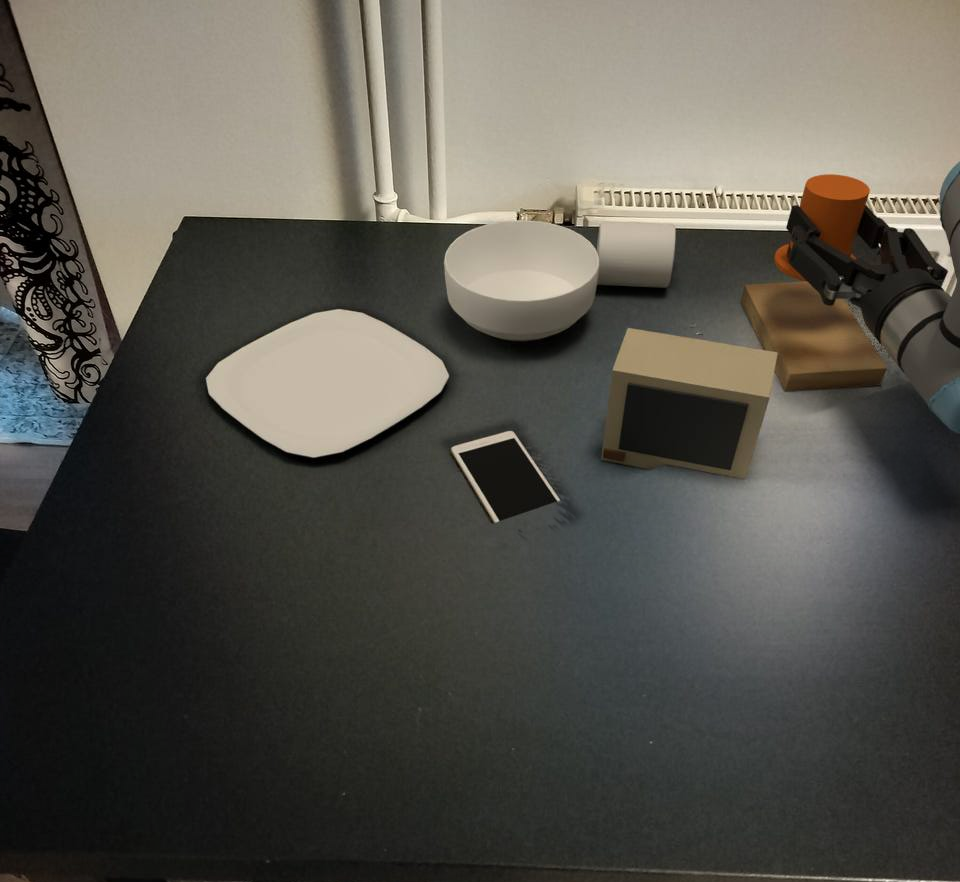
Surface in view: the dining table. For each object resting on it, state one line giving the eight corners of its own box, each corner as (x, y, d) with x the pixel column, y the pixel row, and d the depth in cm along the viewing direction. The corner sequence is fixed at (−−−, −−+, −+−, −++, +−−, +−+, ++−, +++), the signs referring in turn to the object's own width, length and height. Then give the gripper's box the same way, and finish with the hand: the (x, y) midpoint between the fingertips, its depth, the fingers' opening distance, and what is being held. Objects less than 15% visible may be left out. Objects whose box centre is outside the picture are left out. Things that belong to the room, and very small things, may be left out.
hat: (869, 260, 110) (895, 183, 104) (837, 291, 105) (862, 212, 98) (794, 238, 115) (814, 162, 108) (760, 267, 109) (779, 190, 102)
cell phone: (505, 543, 93) (505, 539, 92) (450, 451, 102) (449, 446, 101) (573, 523, 95) (573, 518, 94) (512, 433, 104) (512, 429, 103)
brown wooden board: (880, 385, 109) (887, 367, 107) (784, 391, 108) (790, 374, 106) (826, 296, 121) (831, 279, 119) (740, 301, 121) (744, 284, 119)
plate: (185, 388, 110) (181, 376, 109) (342, 306, 121) (340, 295, 120) (312, 485, 99) (310, 473, 98) (473, 385, 110) (473, 373, 108)
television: (751, 442, 103) (777, 352, 93) (742, 489, 98) (769, 399, 88) (615, 417, 106) (627, 327, 96) (600, 461, 101) (611, 371, 91)
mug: (667, 299, 121) (676, 242, 115) (594, 296, 122) (599, 239, 116) (664, 254, 129) (673, 198, 122) (595, 251, 129) (601, 195, 123)
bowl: (623, 316, 119) (631, 255, 112) (526, 381, 110) (528, 320, 104) (514, 263, 127) (516, 205, 121) (416, 321, 119) (411, 260, 112)
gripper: (812, 361, 95) (736, 251, 109) (986, 341, 97) (890, 236, 111) (834, 296, 89) (751, 189, 103) (1018, 276, 91) (912, 174, 105)
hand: (823, 213), depth 107 cm, fingers closed on hat, 7 cm apart
